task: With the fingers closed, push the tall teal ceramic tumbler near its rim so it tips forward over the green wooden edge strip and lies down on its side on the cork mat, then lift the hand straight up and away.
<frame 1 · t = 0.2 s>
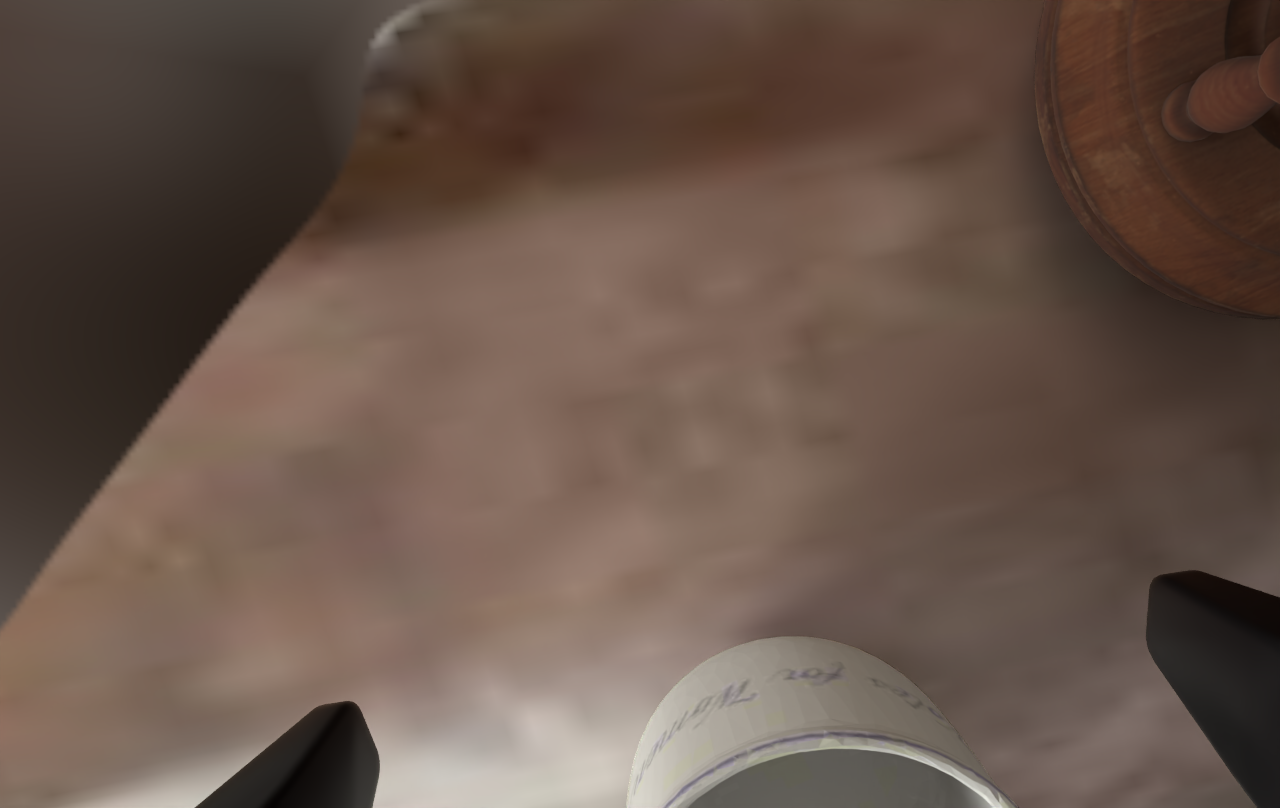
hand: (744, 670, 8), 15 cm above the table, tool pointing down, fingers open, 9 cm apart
scroll: (1250, 79, 21), on the table
teacup: (737, 749, 24), on the table
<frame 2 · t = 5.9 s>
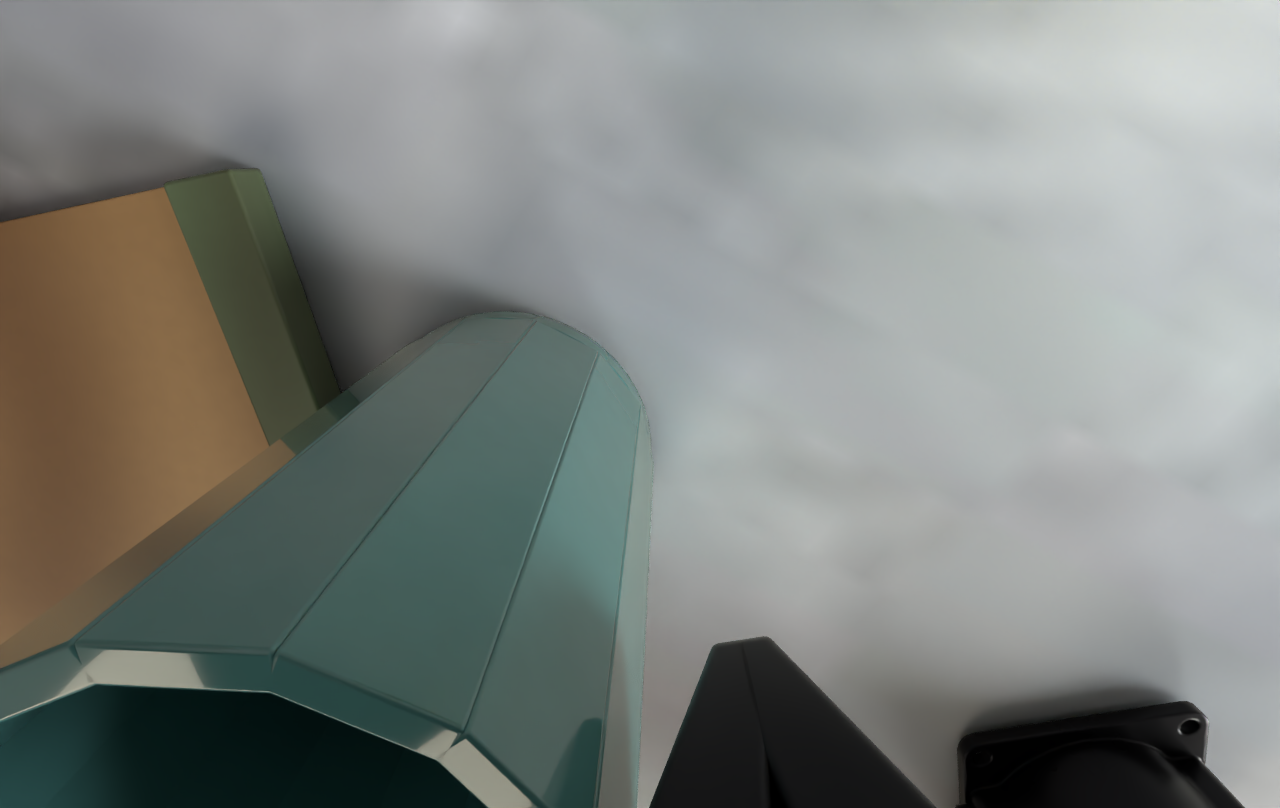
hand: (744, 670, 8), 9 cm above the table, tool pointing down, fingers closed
cup: (515, 444, 16), on the table, touching gripper
cork mat: (81, 524, 17), on the table
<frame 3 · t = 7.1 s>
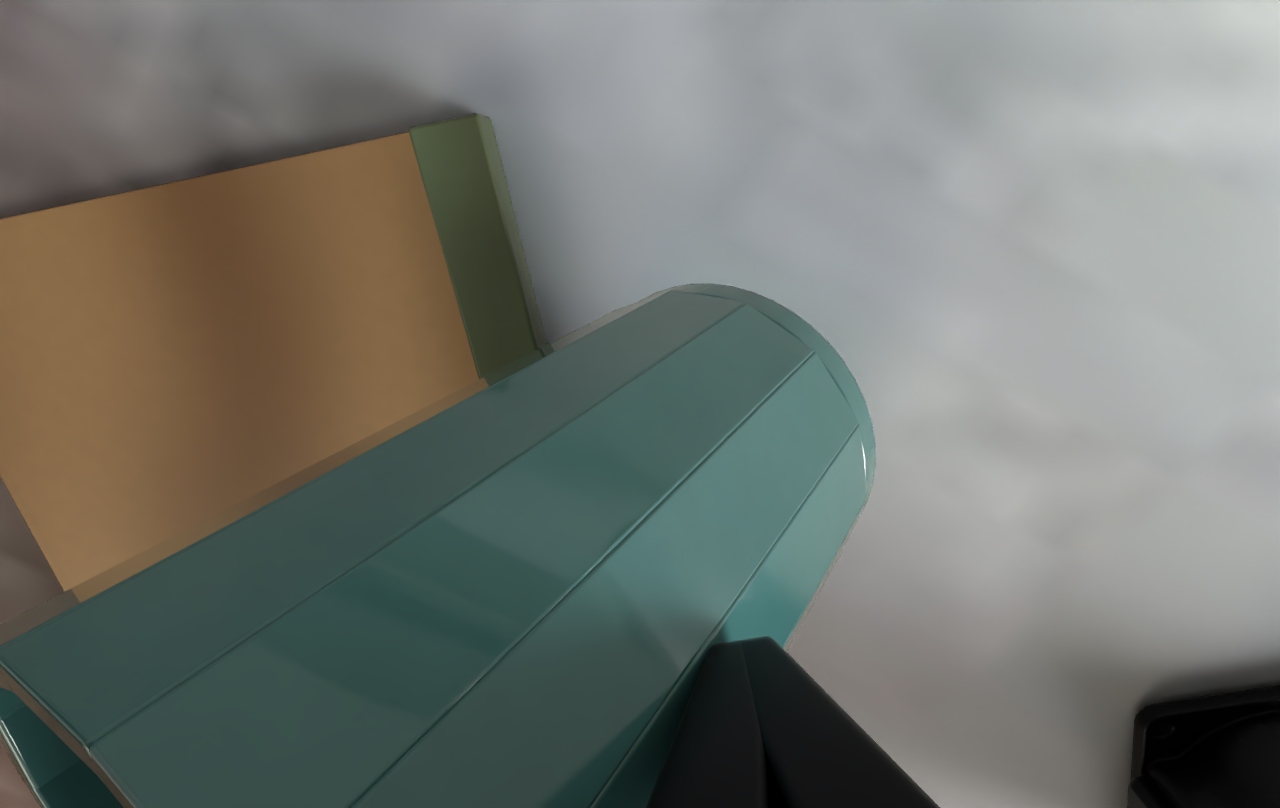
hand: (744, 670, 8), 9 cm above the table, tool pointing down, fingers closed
cup: (720, 432, 14), point 2 cm above the table, tilted 32°, touching cork mat, gripper
cork mat: (270, 485, 17), on the table
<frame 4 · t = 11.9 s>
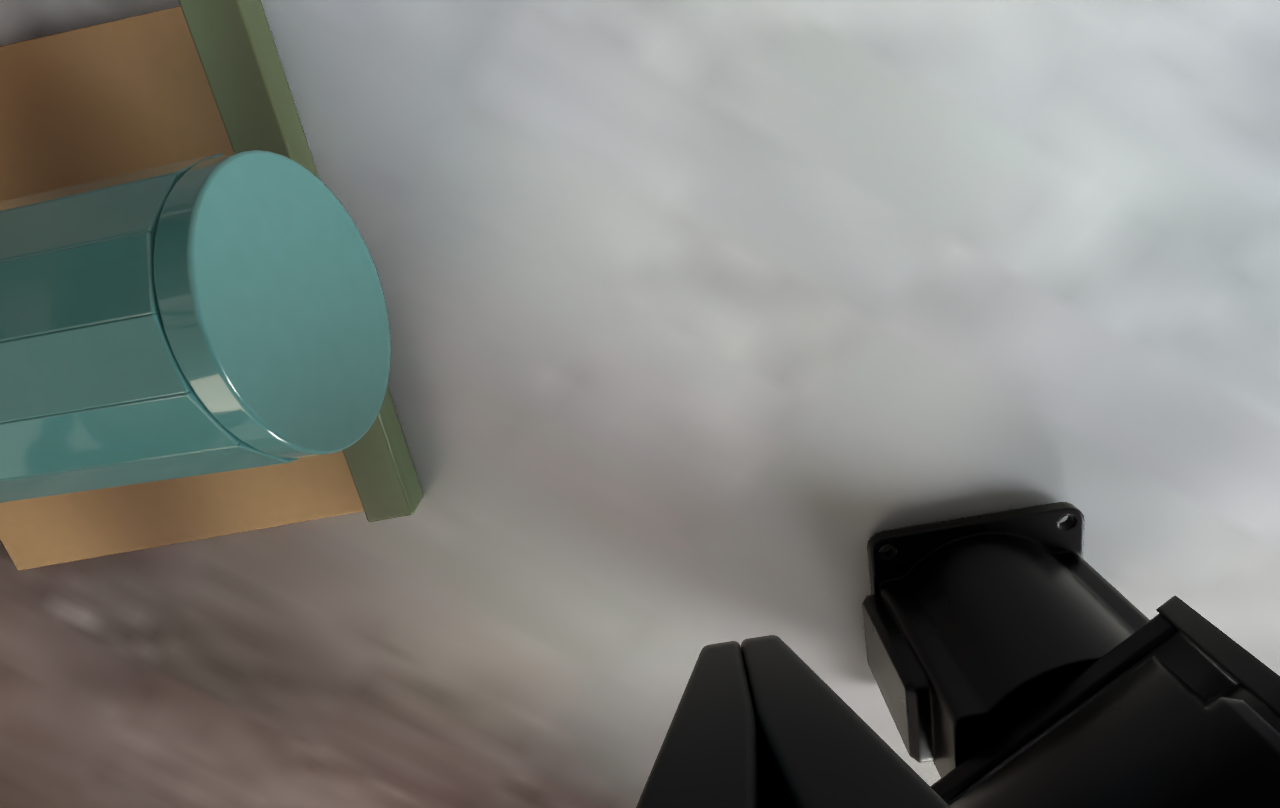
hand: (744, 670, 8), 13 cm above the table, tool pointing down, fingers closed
cup: (312, 305, 15), point 5 cm above the table, tilted 96°, touching cork mat
cork mat: (102, 323, 20), on the table
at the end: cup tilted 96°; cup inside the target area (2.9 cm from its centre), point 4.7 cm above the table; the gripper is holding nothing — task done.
